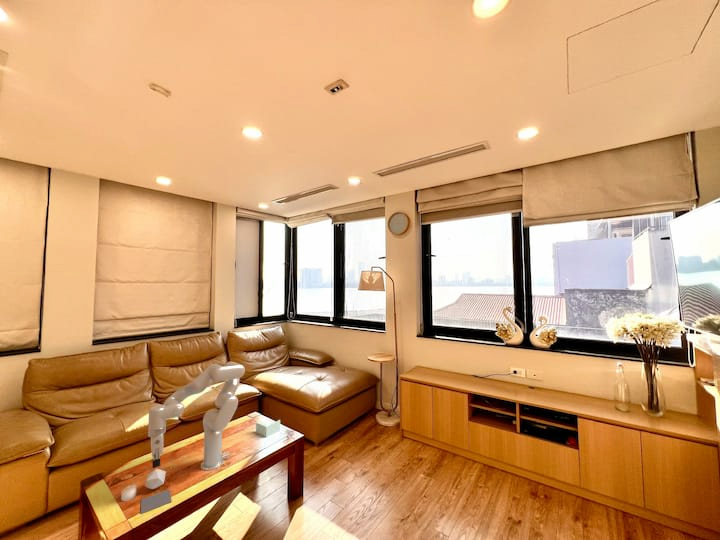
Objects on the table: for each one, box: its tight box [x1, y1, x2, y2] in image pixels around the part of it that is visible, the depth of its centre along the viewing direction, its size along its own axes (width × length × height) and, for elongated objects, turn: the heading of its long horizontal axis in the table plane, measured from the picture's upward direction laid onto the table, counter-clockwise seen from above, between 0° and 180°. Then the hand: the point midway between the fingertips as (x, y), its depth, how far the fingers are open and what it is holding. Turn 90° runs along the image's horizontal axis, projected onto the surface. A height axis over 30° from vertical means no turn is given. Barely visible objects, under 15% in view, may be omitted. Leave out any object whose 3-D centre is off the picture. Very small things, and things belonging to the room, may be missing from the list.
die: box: [144, 468, 167, 490], centre depth 150 cm, size 8×9×10 cm
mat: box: [140, 488, 172, 515], centre depth 141 cm, size 12×11×1 cm
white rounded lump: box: [120, 484, 137, 502], centre depth 144 cm, size 6×6×4 cm
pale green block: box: [255, 419, 281, 438], centre depth 207 cm, size 12×12×8 cm
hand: (156, 466), depth 148 cm, fingers closed
